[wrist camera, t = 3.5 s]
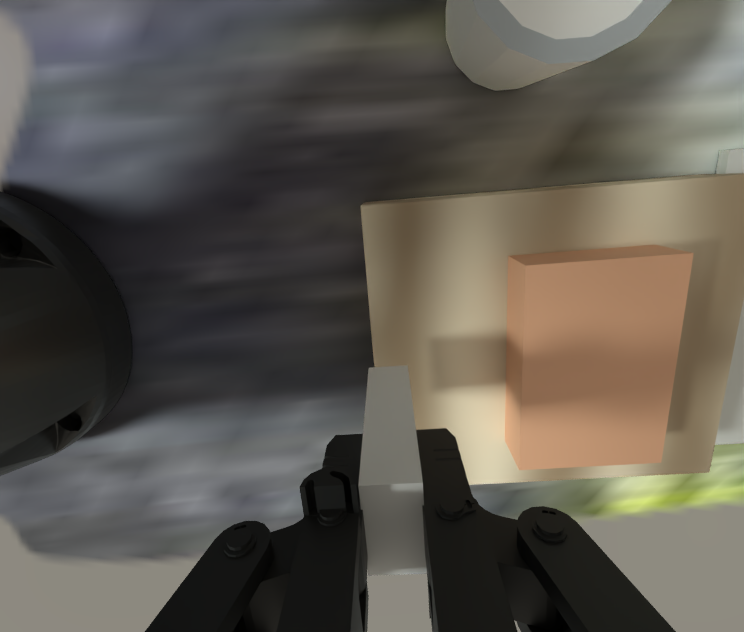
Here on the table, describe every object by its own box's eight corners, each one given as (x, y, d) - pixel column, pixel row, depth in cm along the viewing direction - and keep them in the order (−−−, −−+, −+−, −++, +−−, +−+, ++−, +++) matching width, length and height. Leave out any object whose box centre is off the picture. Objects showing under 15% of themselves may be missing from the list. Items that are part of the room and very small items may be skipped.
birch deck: (384, 442, 25) (384, 489, 21) (364, 202, 21) (360, 206, 17) (657, 426, 24) (709, 472, 20) (694, 174, 20) (768, 172, 16)
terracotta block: (504, 440, 20) (519, 470, 18) (508, 255, 17) (525, 265, 15) (631, 433, 20) (661, 462, 18) (655, 244, 17) (693, 252, 15)
